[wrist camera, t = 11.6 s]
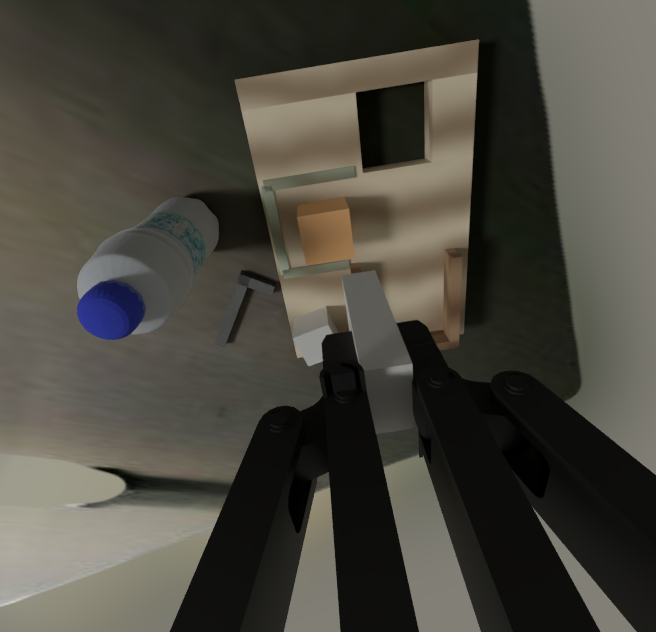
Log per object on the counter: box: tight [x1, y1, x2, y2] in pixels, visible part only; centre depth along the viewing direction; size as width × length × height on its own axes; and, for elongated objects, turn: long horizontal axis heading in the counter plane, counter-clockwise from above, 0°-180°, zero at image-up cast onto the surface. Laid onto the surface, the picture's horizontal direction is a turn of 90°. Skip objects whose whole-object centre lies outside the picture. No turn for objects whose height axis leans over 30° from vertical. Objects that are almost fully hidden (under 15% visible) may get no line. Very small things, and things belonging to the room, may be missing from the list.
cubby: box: [349, 248, 463, 350], centre depth 41 cm, size 11×11×2 cm
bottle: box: [77, 196, 219, 340], centre depth 30 cm, size 7×7×20 cm
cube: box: [297, 197, 355, 266], centre depth 35 cm, size 4×4×4 cm
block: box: [293, 306, 339, 366], centre depth 41 cm, size 4×4×4 cm
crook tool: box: [215, 271, 276, 347], centre depth 44 cm, size 10×4×1 cm, turn 156°
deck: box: [235, 40, 479, 358], centre depth 38 cm, size 28×20×3 cm
